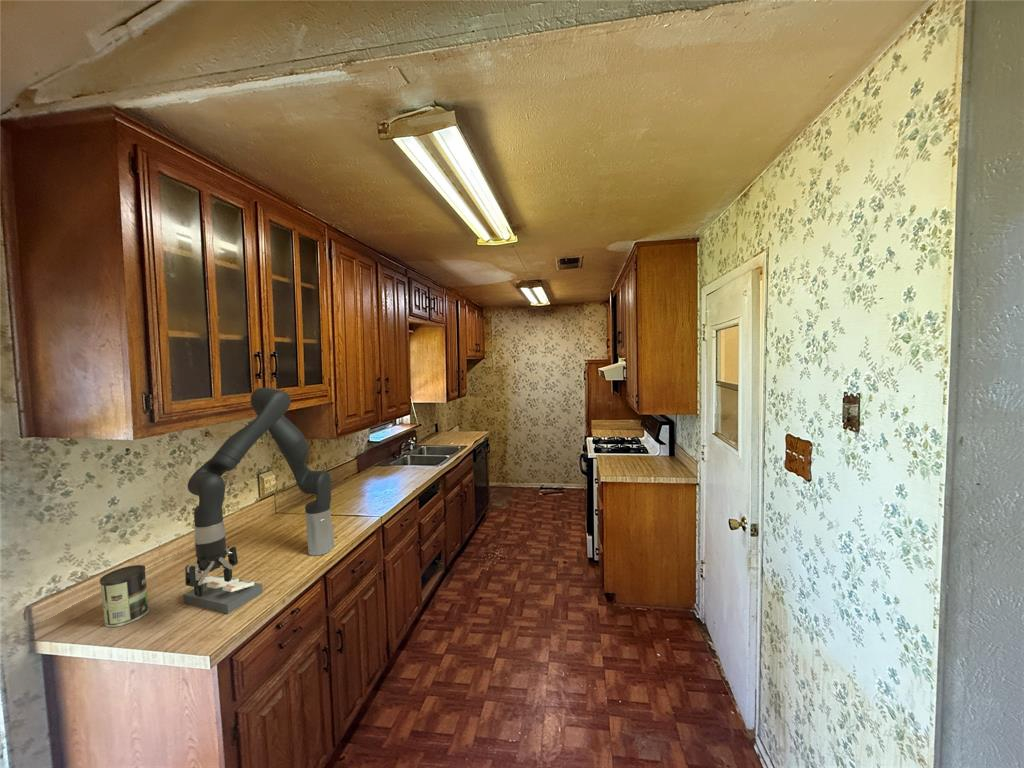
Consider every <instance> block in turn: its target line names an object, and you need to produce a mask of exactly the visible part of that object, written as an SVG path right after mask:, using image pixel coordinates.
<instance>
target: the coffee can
mask: <svg viewBox="0 0 1024 768" xmlns="http://www.w3.org/2000/svg"><path fill="white" fill-rule="evenodd" d="M146 577H147V576H146V565H144V564H138V565H137V564H136V565H129V566H125V567H120V568H118V569H115V570H112V571H110V572H108V573H106V574H104V575H103V576H102V577H100V578H99V583H100V591H101V598H102V599H101V600H102V608H103V609H102V610H103V617H104V618H103V619H104V626H105V627H107V628H117V627H121V626H122V627H123V626H125V625H127V624H131V623H133V622H136V621H138V620H139V619H141V618H143V617H144V616H146V615H147V614H148V613H149V612H150V607H149V597H148V586H147V578H146Z"/></svg>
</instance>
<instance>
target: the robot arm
mask: <svg viewBox="0 0 1024 768" xmlns="http://www.w3.org/2000/svg"><path fill="white" fill-rule="evenodd" d="M291 402H292V399H291V396H290V394H288V392H287V391H284V390H281V389H278V388H277V389H276V388H271V387H259V388H256V389H255V390H253V392H252V393H251V394H250V405H251V408H252V409H253V411H254V412H255V414H256V415H257V416H256V418H254V420H252V421H251V422H250V423H248V424H247V425H245V426H244V427H242V428H241V429H239V430H238V431H236V432H235V433H234V434H232V435H231V436H230V437H228V438H227V439H226V440H225V441H224V442H223V444H222V445H221V446H220V447H219V449H217V451H216V452H215V453H214V455H213V456H212V457H211V458H209V460H207V461H206V462H205V463H203V465H201V466H200V467H199V468H198V469H197V470H195V472H194V473H193V474H192V475H191V476H190V477H189V480H188V482H187V490H188V492H190V493H191V494H192V495H195V496H197V497H198V499H199V500H198V505H196V506H195V508H194V510H193V519H194V520H193V522H194V530H193V531H194V532H193V533H194V537H193V538H194V547H195V556H196V559H197V560H196V563H193V564H187V565H186V566H185V567H184V568H185V569H184V571H185V572H184V574H185V579H184V580H185V586H188V587H191V588H193V589H194V594H195V595H196V596H197V597H202V596H203V595H204V592H203V584H204V583H202V582H203V580H204V578H205V577H208V574H209V573H211V572H213V571H215V570H217V569H219V568H223V576H224V581H226V582H229V581H231V578H233V568H234V566H237V565H238V564H239V560H238V553H237V547H236V546H233V545H229V546H227V540H226V539H227V538H226V527H225V523H224V513H223V504H224V499H225V493H226V485H225V480H224V479H223V477H222V476H223V475H224V474H225V473H227V472H230V471H233V470H234V469H235V468H236V467H237V466H238V465H239V463H240V462H241V461H242V460H243V458H244V457H245V455H246V454H247V453H248V451H249V450H250V449H251V448H252V446H253V445H254V444H256V443H257V441H258V440H259V439H260V438H261V437H262V436H264V434H265V433H266V432H267V431H268V432H269V433H270V436H271V437H272V439H273V441H274V442H275V444H276V446H277V447H278V449H279V451H280V453H281V454H282V456H283V458H284V460H285V461H286V463H287V464H288V467H289V468H290V470H291V472H292V474H293V476H294V479H295V482H296V484H297V487H298V489H299V490H300V492H302V493H303V494H305V495H306V494H307V495H316V497H315V498H316V499H314V500H311V501H309V502H307V503H306V504H305V506H304V511H305V512H304V513H305V524H306V525H305V526H306V527H305V529H306V540H307V541H306V543H307V544H306V545H307V554H308V555H309V556H322V555H325V554H328V553H329V552H331V551H332V550H333V548H334V547H335V535H334V534H335V533H334V532H335V531H334V525H333V523H332V515H331V501H332V478H331V474H330V473H329V472H328V471H327V470H311V469H310V468H309V467H308V465H307V458H308V456H309V453H310V447H309V443H308V441H307V439H306V437H305V436H304V434H303V432H302V431H301V430H300V429H299V428H298V427H297V426H296V425H295V424H293V423H292V422H291V421H290V420H289V419H288V418H287V417H286V416H285V414H286V413H287V411H288V410H289V409H290V407H291ZM226 556H227V559H228V560H226Z"/></svg>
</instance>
